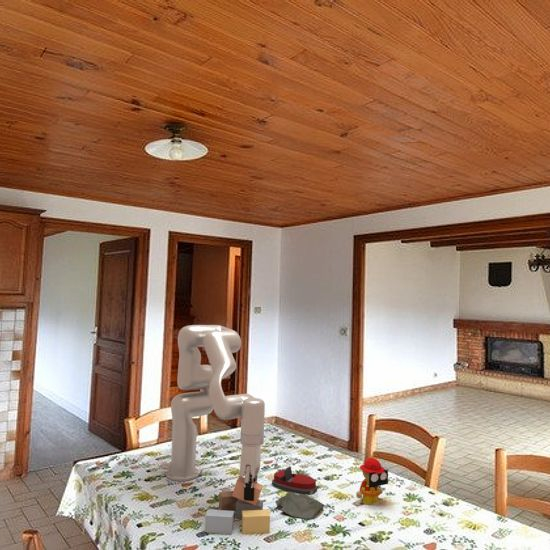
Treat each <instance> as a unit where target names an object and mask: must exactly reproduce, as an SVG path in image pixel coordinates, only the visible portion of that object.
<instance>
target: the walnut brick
mask: <svg viewBox="0 0 550 550" xmlns="http://www.w3.org/2000/svg"><path fill="white" fill-rule="evenodd" d="M233 491H234V490H229V491H228V490H227V491H219V494H218V510H226V511H234V512H236V502H237V500H238V498H236V497H233V496H232V494H233Z"/></svg>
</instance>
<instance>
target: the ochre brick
mask: <svg viewBox="0 0 550 550" xmlns="http://www.w3.org/2000/svg"><path fill="white" fill-rule="evenodd" d="M270 526H271V515H270V511H269V509H263V510H248V511H242V520H241V530H242V531H241V532H243V533H242V534H243V535H248V534H249V535H250V534H267V533H269V534H270V533H271V531H270Z"/></svg>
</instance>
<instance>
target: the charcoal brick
mask: <svg viewBox="0 0 550 550" xmlns="http://www.w3.org/2000/svg"><path fill="white" fill-rule="evenodd" d="M248 510H264V500H261V499H258V502H257V504H256V505H253V504H251V503H248V502H246V501H243V500H241V499H238V500H237V502H236V511H234V520H235V519H238V520H237V521H242V511H248Z"/></svg>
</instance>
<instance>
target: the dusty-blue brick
mask: <svg viewBox="0 0 550 550" xmlns="http://www.w3.org/2000/svg"><path fill="white" fill-rule="evenodd" d="M234 525H235V511H226V510H220V509H207V510H206V513H205V516H204V533H205V532H207V534H221V535H232V533H233V531H234V527H235V526H234Z"/></svg>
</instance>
